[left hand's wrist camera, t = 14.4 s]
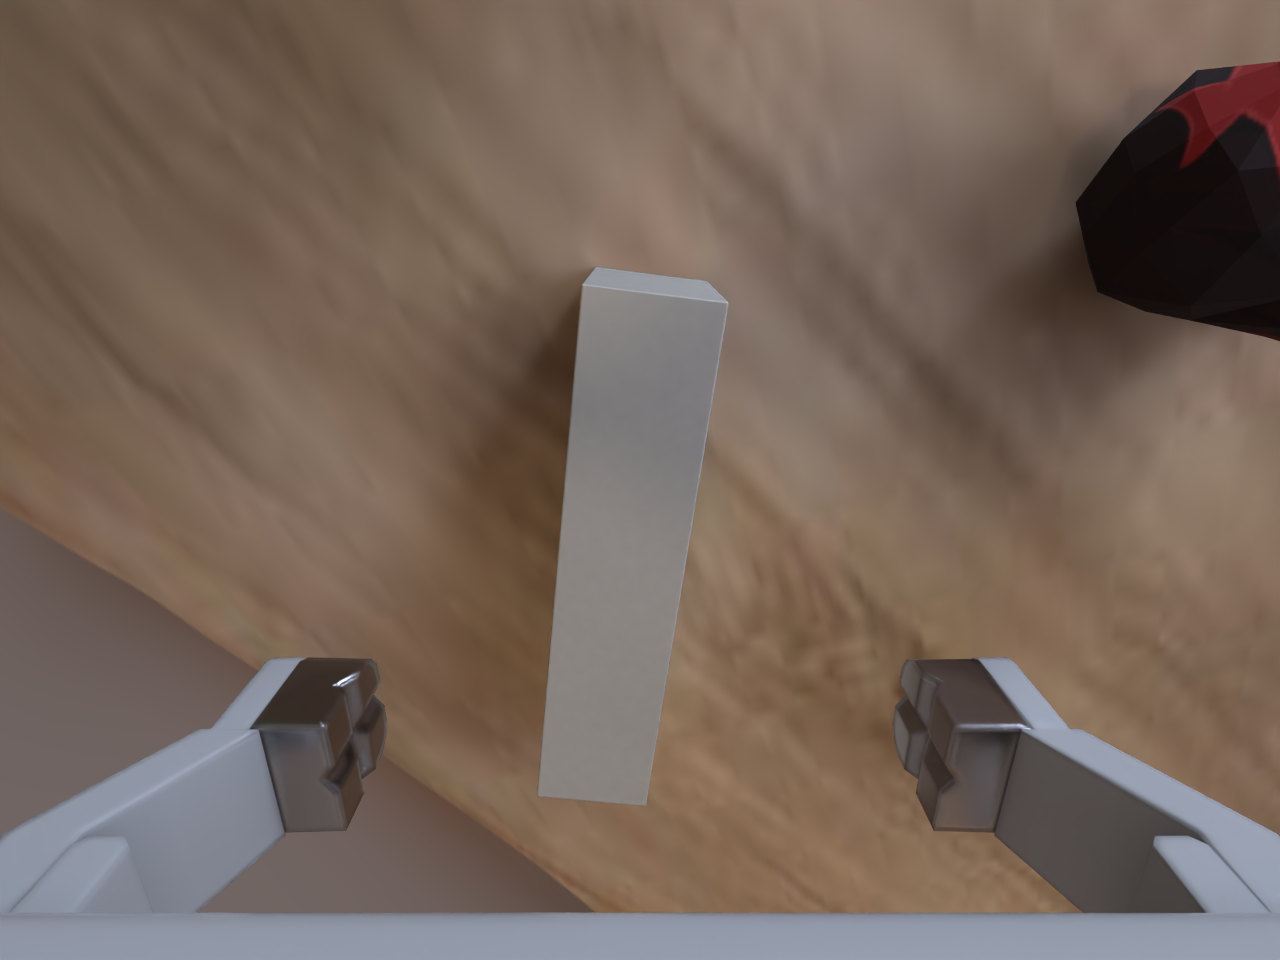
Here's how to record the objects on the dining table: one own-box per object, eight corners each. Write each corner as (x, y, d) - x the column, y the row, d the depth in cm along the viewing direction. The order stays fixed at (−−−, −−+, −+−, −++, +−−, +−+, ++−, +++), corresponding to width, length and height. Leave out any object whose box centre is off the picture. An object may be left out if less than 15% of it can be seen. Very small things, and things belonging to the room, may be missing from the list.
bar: (595, 266, 32) (581, 283, 24) (708, 281, 32) (728, 302, 24) (555, 689, 40) (536, 796, 33) (644, 698, 40) (645, 806, 33)
